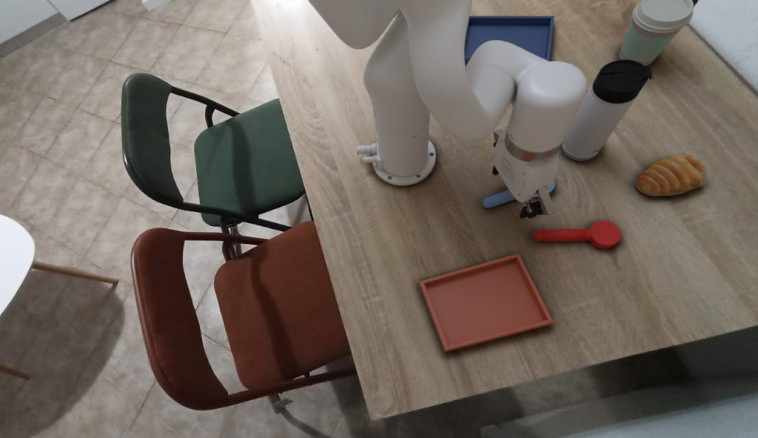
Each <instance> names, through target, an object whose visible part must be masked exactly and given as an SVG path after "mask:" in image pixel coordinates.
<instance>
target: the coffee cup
mask: <svg viewBox="0 0 758 438" xmlns="http://www.w3.org/2000/svg"><path fill="white" fill-rule="evenodd" d="M694 7H695V4H694V1H693V0H640V1H639V2H638V4H637V5H636V6H635V8H634V9H633V11H632V19H631V21H630V24H629V27H628V30H627V32H626V35H625V37H624V40H623V43H622V45H621V47H620V50H619V54H618V57H619V60H634V61H637V62H640V63H641V64H643V65H644V66H645V67H646V66H650V65H651V64H652V63H653V62H654V60H655V59H657V57H658V56H659V55H660V54H661V53H662V52H663V50H664V49H666V47H667V46H668V45H669V44H670V42H672V40H673V39H674V38H675V37H676V36H677V35H678V34H679V32H680V31H681V30H682V29H683V28H685V27H686V26H687V25H689V23H690V22H691V20H692V18H693V16H694Z"/></svg>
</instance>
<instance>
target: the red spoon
mask: <svg viewBox="0 0 758 438" xmlns="http://www.w3.org/2000/svg"><path fill="white" fill-rule="evenodd" d="M532 237H533V239H534V240H535V241H536V242H587V241H589V243H590V244H591V245H593V246H594V247H596V248H599V249H610V248H612V247H614V246H616V244H618V243H619V242H620V240H621V238H622V232H621V230H620V228H619V227H618V226H617V225H616V224H615V223H612V221H611V222H610V221H607V220H601V221H596V222H595V223H593V224H592V225H591V226H590V227H589V228H568V229H567V228H564V229H563V228H562V229H538V230H535V231H534V232H533V236H532Z"/></svg>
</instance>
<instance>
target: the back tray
mask: <svg viewBox="0 0 758 438" xmlns="http://www.w3.org/2000/svg"><path fill="white" fill-rule="evenodd" d="M554 25H555V15H469V20H468V25H467V30H466V37H465V46H464V60H465V67H466V65H467V64H468V62H469V60H470V59H471V57H472V55H473V54H474V52H475V51H476V50H477V48H478V47H479V46H481V45H482V44H483V43H485V42H488V41H492V40H500V41H505V42H509V43H511V44H514V45H516V46H518V47H520V48H522V49H524V50H526V51H528V52H530V53H532V54H534V55H536V56H538V57H541V58H543V59H545V60H547V61H550V60H551V51H552V41H553V35H554V34H553V33H554Z"/></svg>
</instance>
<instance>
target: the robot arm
mask: <svg viewBox="0 0 758 438" xmlns="http://www.w3.org/2000/svg"><path fill="white" fill-rule="evenodd" d="M307 1H308V3H309V4H310V5H311V6H312V8H313V9H314V10H315V11H316V12H317V14H318V15H319V16H320V17H321V19H322V20H323V21H324V22H325V24H326V25H327V26H328V27H329V28H330V29H331V31H332V32H333V33H334V34H335V36H336V37H337V38H338V39H339V40H340V41H341V42H342V43H344V44H345V45H346V46H347V47H349V48H351V49H353V50H364V49H366V48H367V49H368V48H369V47H371V46H372V45H373V44H374V43H376V42H377V41H378V40H379V39H380V37H381V36H382V35H383V34H384V35H383V36H382V38H381V39H380V40H379V42H378V43H377V45H376V46H375V48H374V49H373V51H372V53H371V55H370V57H368V60H367V62H366V64H365V67H364V71H363V77H362V79H363V85H364V87H365V90H366V93H367V94H368V96H369V99H370V101H371V106H372V111H373V118H374V125H375V131H376V133H375V134H376V142H372V143H371V144H360V145H359V144H358V145H356V155H358V156H359V155H360V156H361V155H367V154H372V156H362V164H369V163H370V164H371V163H372V167H373V170H374V171H375V174H376V175H377V176H378V177H379V178H380V179H381V180H383V181H384V182H386V183H388V184H389V185H394V186H400V187H402V186H404V187H405V186H410V185H411V186H412V185H415V184H418V183H420V182H422V181H423V180H425V179H426V178H427V177H428V176H429V175H430V174H431V173H432V171H433V169H434V167H435V165H436V160H437V154H436V149H435V146H434V145H433V143H432V142H431V140H430V122H431V121H430V120H431V114H432V116H433V118H434V119H435V120H436V121H437V122H438V123H439V124H440V126H441V127H442V128H443V129H444V130H445V131H446V132H448V133H449V134H450V135H452V136H453V137H455V138H457V139H459V140H462V141H466V142H476V141H480V140H484V139H485V138H487V137H489V136H490V135H491V134H493V140H494V142H493V144H492V146H493V152H492V164H493V167H492V171H491V174H492V175H493V176H498V175H499V176H500V178H501V179H502V181H503V182H504V184H505V185H506V187H507V188H508V190H510V192H511V193H512V195H513V196H514V198H515V199H514V200H516V201H517V202H519V203H523V204H524V205H523V206H522V207H521V210H520V212H519V215H518V217H519V219H520V220H524V219H526V218H527V219H528V220H531V219H533V218H536V217H538V216H549V215H551V214H552V215H553V214H554V213H556V209H555V206H554V203H553V201H552V198H551V195H550V194H549V193H548V191H549V190H550V188H551V186H552V184H553V182H554V181H555V180H556V179H555V178H556V175H557V171H558V168H559V160H560V155H559V153H560V152H561V147H562V145H563V142H564V140H565V138H566V136H567V134H568V132H569V129H570V127H571V125H572V123H573V121H574V119H575V117H576V114H577V112H578V110H579V108H580V106H581V104H582V102H583V100H584V98H585V96H586V94H587V92H588V81H587V77H586V75H585V74H584V72H583V71H582V70H581V69H579V67H577V66H576V65H574V64H572V63H570V62H567V61H559V60H553V61H547V60H545V59H543V58H541V57H538V56H536V55H534V54H532V53H530V52H528V51H526V50H524V49H522V48H520V47H518V46H516V45H514V44H511V43H509V42H505V41H500V40H492V41H488V42H485V43H483V44H482V45H481V46H479V47H478V48H477V50H476V51H475V52H474V54H473V55H472V57H471V59H470V60H469V62H468V64H467V65H466V66H465V60H464V46H465V37H466V30H467V25H468V20H469V16H471V14H470V13H471V10H472V4H473V0H307ZM390 24H391V25H390ZM386 30H387V31H386ZM385 31H386V32H385ZM510 105H511V106H512V110H511V113H510V117H509V121H508V124H507V126H506V127H504V129H502V128H498V129H497V127H498V126H499V124H500V123H501V121H502V119H503V117H504V116H505V114H506V112H507V110H508V108H509V106H510ZM496 129H497V130H496ZM537 196H538V197H537ZM533 198H534V199H535V198H537V199H538V200H535V201H533V202H532V199H533Z"/></svg>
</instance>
